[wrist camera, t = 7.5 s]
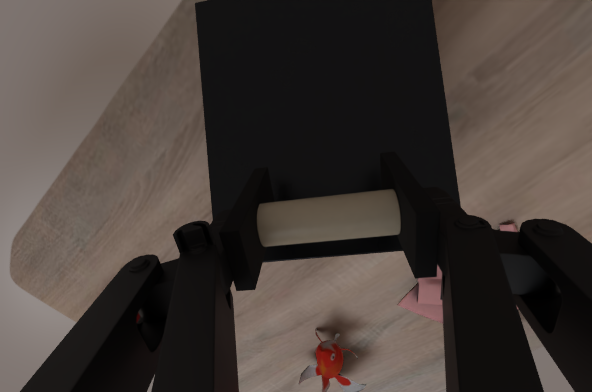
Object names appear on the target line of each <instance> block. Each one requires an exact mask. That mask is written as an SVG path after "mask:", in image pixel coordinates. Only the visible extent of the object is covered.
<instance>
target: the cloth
mask: <svg viewBox="0 0 592 392" xmlns="http://www.w3.org/2000/svg"><path fill="white" fill-rule="evenodd" d="M499 226H500V230H501V231H513V232H518V231H517V229H516V227H515V224H514V222H513V223H511V224H509V225H499ZM441 281H442V271H441V270H440V268H439V266H438V264H437V277H429V278H418V284H417V285H416V286H415V287H414V288H413V289H412V290H411V291H410V292H409V293H408V294H407V295H406V296H405V297H404V298H403V299H402V300H401V301H400V302H399V304H398V306H401V307H403V308H405V309H408V310H410V311H412V312H414V313H417V314H420V315H422V316H424V317H427V318H430V319H433V320H435V321H438V322H440V323H443V307H442V300H440V296H441ZM517 309H518V307H517ZM518 310H519V309H518Z"/></svg>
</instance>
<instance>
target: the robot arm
mask: <svg viewBox="0 0 592 392" xmlns="http://www.w3.org/2000/svg"><path fill="white" fill-rule="evenodd" d="M380 167H381V190H387V189H394V190H395V192H396V195H397V197H398V201H399V206H400V213H401V230H400V233H399V234H398V235H397V237H398V239H399V242H400V244H401V246H402V249H403V251H404V253H405V256H406V258H407V260H408V263H409V265H410V267H411V270H412V272H413V275H414V277H415V278H429V277H437V264H438V266H439V268H440V270H441V271H442V281H441V296H440V300H442V307H443V328H444V350H445V371H446V392H544V390H543V387H542V384H541V381H540V378H539V375H538V372H537V369H536V365H535V362H534V359H533V356H532V353H531V350H530V347H529V343H528V340H527V337H526V334H525V331H524V328H523V325H522V322H521V318H520V315H519V312H518V309H519V310H520V312H521V313H522V314H523V316H524V317H525V319H526V320H527V322H528V323H529V325H530V326H531V328H532V329H533V331H534V332H535V334H536V335H537V337H538V338H539V340H540V341H541V343H542V344H543V345H544V347H545V348H546V350H547V351H548V353H549V354H550V356H551V357H552V359H553V360H554V362H555V363H556V365H557V366H558V368H559V369H560V370H561V372H562V373H563V375H564V376H565V378H566V379H567V380H568V382H569V384H570V385H571V387H572V388H573V390H574V391H575V392H592V243H590V242H589V241H588V240H587V239H585V238H584V237H583V236H581V235H580V234H579V233H578V232H576V231H575V230H574V229H572V228H571V227H569V226H567V225H565V224H562V223H559V222H557V221H554V220H549V219H532V220H527V221H525V222H523V223H522V224H521V227H520V232H513V231H501V230H494V229H492V228H491V225H490V224H489V223H488V221H486V220H484V219H482V218H480V217H477V216H472V215H467V214H466V212H465V211H464V210H463V209H462V208H461V207H460V206H459V205H458V204H457V203H456V201H455V200H454V199H453V198H451V196H450V195H449V194H448V193H447V192H446V191H445V190H443V189H440V188H438V187H429V188H422V186H421V185H420V184H419V183H418V181H417V180H416V179H415V177H414V176H413V175H412V173H411V172H410V171H409V169H408V168H407V167H406V165H405V164H404V163H403V162H402V160H401V159H400V158H399V156H398V155H397V154H396V152H395V151H394V152H386V153H380ZM270 202H275V200H274V196H273V191H272V186H271V181H270V176H269V171H268V167H264V168H256V169H254V170H253V172H252V174H251V176H250V177H249V179H248V181H247V183H246V185H245V186H244V188H243V190H242V192H241V194H240V195H239V197H238V199H237V201H236V203H235V204H234V206H233V208H232V209H230V210H223V211H222V212H220V213H219V214H218V215H216V216H215V218H214V219H213V221H212V223H211V224H210V225H209V223H208V222H206V221H195V222H191V223H188V224H185V225H183V226H181V227H180V228H178V229H177V230H176V231H175V232H174V234H173V236H174V239H175V242H176V244H177V247H178V249H179V252H180V257H179V258H178V259H175V260H172V261H169V262H165V263H161V264H160V261H159V259H158V257H157V256H155V255H144V256H139V257H138V258H134V259H133V260H132V261H130V262H128V263H127V264H126V265H125V266H124V267H122V269H121V270H120V271H119V272H118V273H117V275H116V276H115V277H114V278H113V279H112V281H111V282H110V283H109V284H108V285H107V287H106V288H105V289H104V290H103V292H102V293H101V294H100V295H99V296H98V298H97V299H96V300H95V301H94V302H93V304H92V305H91V306H90V307H89V308H88V310H87V311H86V312H85V313H84V315H83V316H82V317H81V318H80V319H79V321H78V322H77V323H76V324H75V325H74V327H73V328H72V329H71V330H70V332H69V333H68V334H67V335H66V336H65V338H64V339H63V340H62V341H61V342H60V344H59V345H58V346H57V347H56V349H55V350H54V351H53V352H52V353H51V354H50V356H49V357H48V358H47V359H46V361H45V362H44V363H43V364H42V366H41V367H40V368H39V369H38V370H37V371H36V373H35V374H34V375H33V376H32V378H31V379H30V380H29V381H28V382H27V384H26V385H25V386H24V387H23V389H22V390H21V391H20V392H147V390H148V387H149V385H150V383H151V381H152V379H153V377H154V374H155V377H154V382H153V387H152V392H239V387H238V371H237V355H236V340H235V324H234V308H233V296H232V293H231V290H230V287H231V284H232V282H233V281H234V284H235V287H236V291H243V290H255V288H256V284H257V281H258V277H259V273H260V270H261V266H262V262H263V259H264V255H265V251H266V247H265V246H263V245H262V244H261V242H260V239H259V235H258V230H257V210H258V206H259V204H261V203H270ZM517 307H518V309H517ZM138 312H139V314H140V316H141V317H140V318H139V320H138V322H137V323H136V320H137V315H138Z"/></svg>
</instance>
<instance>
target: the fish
mask: <svg viewBox="0 0 592 392" xmlns="http://www.w3.org/2000/svg"><path fill="white" fill-rule="evenodd" d="M315 331H317V328H316V329H315ZM316 335H317V332H316ZM339 336H340V334H337V333H336V335H335V340H334V341H333V340H329V341H328V340H327V341H324V342H322V341H321V340H320V338H319V337H318V335H317V337H318V338H319V340H320V341H321V342H322V343H320V344H319V345H318V347H317V348H316V351H315V353H316V358H317V364H318V365H311V366H308V367H307V368H306V369H305V370H304V371H303V373H302V374H301V377H300V381H299V384H300V383H301V382H302V381H304V380H306V379H308V378H310V377H313V376H318V375H322V392H326V391H327V389H328V388H329V386H330V383H329V379H330V378H334V377H335V378H336V379H337V380H338V382H339V384H340V385H341V387H342V389H343V391H344V392H359V391H361V390H363V389H364V387H365V386H366V384H358V383H356V382H354V381H352V380H350V379H348V378H346V377H344V376H342V375H340V374H339V373H340V371H341V369H342V366H343V361H344V360H343V353H342V350H349V349H341V348H340V347H339V345H338V344H337V343H336V342H335V341H336V339H337V338H338V337H339ZM349 351H351V350H349ZM351 352H352V351H351ZM352 353H353V352H352ZM354 355H355V354H354ZM355 356H356V355H355ZM356 357H357V356H356ZM357 359H358V357H357Z"/></svg>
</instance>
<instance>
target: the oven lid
mask: <svg viewBox="0 0 592 392" xmlns="http://www.w3.org/2000/svg"><path fill="white" fill-rule="evenodd" d="M195 10H196V22H197V34H198V46H199V58H200V70H201V82H202V94H203V106H204V118H205V131H206V143H207V155H208V167H209V179H210V191H211V203H212V215H213V219H214V218H215V216H216V215H218V214H219V213H220V212H222V211H223V210H230V209H232V208H233V206H234V204H235V203H236V201H237V199H238V197H239V195H240V194H241V192H242V190H243V188H244V186H245V185H246V183H247V181H248V179H249V177H250V176H251V174H252V172H253V170H254V169H256V168H264V167H268V171H269V176H270V181H271V186H272V191H273V196H274V200H275V202H270V203H261V204H259V206H258V210H257V230H258V235H259V239H260V242H261V244H262V245H263V246H265V247H266V251H265V255H264V259H263V262H275V261H286V260H298V259H310V258H322V257H334V256H346V255H358V254H370V253H382V252H394V251H403V249H402V246H401V244H400V242H399V239H398V237H397V235H398V234H399V233H400V230H401V213H400V206H399V201H398V197H397V195H396V192H395V190H394V189H387V190H381V167H380V153H386V152H394V151H395V152H396V154H397V155H398V156H399V158H400V159H401V160H402V162H403V163H404V164H405V165H406V167H407V168H408V169H409V171H410V172H411V173H412V175H413V176H414V177H415V179H416V180H417V181H418V183H419V184H420V185H421V186H422V188H429V187H438V188H440V189H443V190H445V191H446V192H447V193H448V194H449V195H450V196H451V198H453V199H454V200H455V201H456V203H457V204H458V205H459V206H460V207H461V205H460V198H459V191H458V184H457V177H456V170H455V163H454V156H453V149H452V142H451V135H450V128H449V120H448V113H447V106H446V99H445V92H444V85H443V78H442V71H441V64H440V57H439V50H438V43H437V35H436V28H435V21H434V14H433V7H432V0H207V1H203V2H198V3H195ZM263 262H262V263H263Z"/></svg>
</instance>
